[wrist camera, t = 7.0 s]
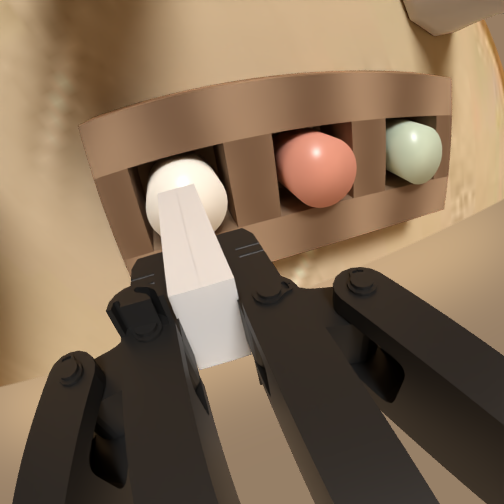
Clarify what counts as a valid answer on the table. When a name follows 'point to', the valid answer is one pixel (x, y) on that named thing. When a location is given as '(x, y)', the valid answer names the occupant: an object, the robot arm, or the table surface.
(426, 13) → the flask
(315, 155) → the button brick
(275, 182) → the console
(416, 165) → the button sage
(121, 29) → the table surface
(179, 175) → the button ivory
